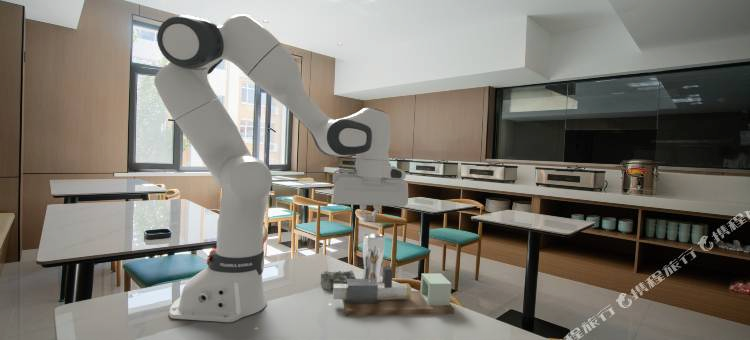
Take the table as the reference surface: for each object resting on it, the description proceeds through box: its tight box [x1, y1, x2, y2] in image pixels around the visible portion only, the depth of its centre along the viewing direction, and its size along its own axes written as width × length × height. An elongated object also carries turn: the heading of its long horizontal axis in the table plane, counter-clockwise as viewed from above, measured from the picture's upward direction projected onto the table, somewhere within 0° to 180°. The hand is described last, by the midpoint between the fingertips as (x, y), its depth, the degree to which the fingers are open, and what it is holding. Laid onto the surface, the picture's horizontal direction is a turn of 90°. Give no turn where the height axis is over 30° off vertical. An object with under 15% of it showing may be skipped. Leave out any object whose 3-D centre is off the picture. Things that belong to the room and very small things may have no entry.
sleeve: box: [346, 278, 378, 304], centre depth 99 cm, size 8×5×5 cm, turn 100°
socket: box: [419, 272, 452, 306], centre depth 102 cm, size 6×8×8 cm
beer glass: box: [361, 232, 385, 284], centre depth 117 cm, size 7×7×15 cm
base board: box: [342, 290, 455, 317], centre depth 100 cm, size 29×12×2 cm, turn 100°
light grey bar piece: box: [332, 265, 412, 300], centre depth 99 cm, size 21×3×8 cm, turn 100°
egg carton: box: [320, 269, 357, 290], centre depth 113 cm, size 11×8×4 cm
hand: (368, 221), depth 98 cm, fingers closed
